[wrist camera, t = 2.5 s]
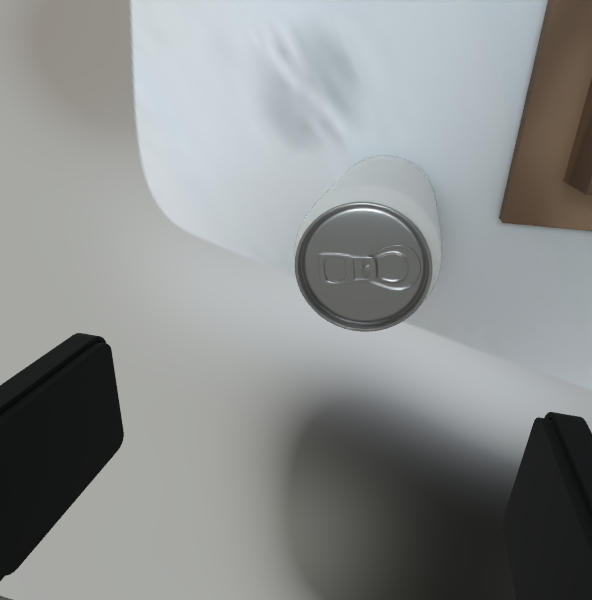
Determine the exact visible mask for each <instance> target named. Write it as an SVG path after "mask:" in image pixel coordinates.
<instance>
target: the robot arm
mask: <svg viewBox="0 0 592 600" xmlns="http://www.w3.org/2000/svg"><path fill="white" fill-rule="evenodd" d="M123 437H124V432H123V425H122V419H121V412H120V405H119V399H118V392H117V385H116V379H115V372H114V365H113V358H112V351H111V347H110V346H109V345H108V344H106V342H105V340H104V338H102V337H100V336H94V335H88V334H82V333H77V334H75V335H73V336H71V337H70V338H68V339H67V340H65V341H64V342H63V343H61V344H60V345H58V346H57V347H56V348H54V349H52V350H51V351H49V352H48V353H47V354H45V355H44V356H42V357H41V358H39V359H38V360H36V361H35V362H34V363H32V364H31V365H29V366H28V367H26V368H25V369H23V370H22V371H20V372H19V373H18V374H16V375H15V376H13V377H12V378H11V379H9V380H7V381H6V382H5V383H3V384H2V385H0V581H1V580H2V579H3V577H4V576H5V575H10V574H11V573H13V572H14V571H15V570H16V569H17V568H18V567H19V566H20V565H21V564H22V562H23V561H24V560H25V559H26V558H27V556H28V555H29V554H30V553H31V552H32V551H33V550H34V548H35V547H36V546H37V545H38V544H39V542H40V541H41V540H42V539H43V537H45V535H46V534H47V533H48V532H49V531H50V530H51V528H52V527H53V526H54V525H55V524H56V522H57V521H58V520H59V519H60V518H61V517H62V515H63V514H64V513H65V512H66V511H67V509H68V508H69V507H70V506H71V505H72V503H73V502H74V501H75V500H76V499H77V498H78V497H79V495H80V494H81V493H82V492H83V491H84V489H85V488H86V487H87V486H88V485H89V484H90V482H91V481H92V480H93V479H94V478H95V477H96V475H97V474H98V473H99V472H100V471H101V470H102V468H103V467H104V466H105V465H106V464H107V462H108V461H109V460H110V459H111V458H112V457H113V455H114V454H115V453H116V452H117V451H118V449H119V448H120V446H121V444H122V441H123ZM503 532H504V538H505V544H506V548H507V554H508V559H509V564H510V569H511V574H512V580H513V585H514V590H515V595H516V600H592V433H591V431H590V429H589V427H588V425H587V423H586V422H585V420H584V419H583V418H581V417H577V416H571V415H565V414H560V413H554V412H549V413H548V414H547V415H546V416H545V418H536V419H535V421H534V423H533V426H532V430H531V433H530V436H529V439H528V442H527V445H526V448H525V451H524V455H523V458H522V461H521V464H520V467H519V471H518V474H517V477H516V480H515V483H514V486H513V489H512V492H511V496H510V499H509V502H508V505H507V508H506V511H505V515H504V521H503ZM0 600H12V599H8V598H5V597H2V596H0Z"/></svg>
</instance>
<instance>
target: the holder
mask: <svg viewBox="0 0 592 600" xmlns="http://www.w3.org/2000/svg"><path fill="white" fill-rule="evenodd" d="M499 218H500V220H501V221H502V223H512V224H522V225H533V226H544V227H554V228H565V229H575V230H586V231H592V0H548V5H547V9H546V13H545V18H544V22H543V27H542V31H541V35H540V40H539V44H538V49H537V53H536V58H535V62H534V66H533V71H532V75H531V80H530V84H529V88H528V93H527V97H526V102H525V106H524V111H523V115H522V119H521V124H520V128H519V133H518V137H517V141H516V146H515V150H514V155H513V159H512V164H511V168H510V172H509V177H508V181H507V186H506V190H505V194H504V199H503V203H502V208H501V212H500V217H499Z"/></svg>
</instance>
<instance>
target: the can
mask: <svg viewBox="0 0 592 600" xmlns="http://www.w3.org/2000/svg"><path fill="white" fill-rule="evenodd" d="M441 259H442V247H441V237H440V228H439V221H438V213H437V207H436V201H435V196H434V192H433V189H432V186H431V184H430V182H429V180H428V178H427V177H426V175H425V174H424V173H423V172H422V171H421V170H420V169H419V168H418V167H417V166H415V165H414V164H412V163H411V162H409V161H407V160H405V159H402V158H399V157H394V156H376V157H372V158H368V159H366V160H363V161H361V162H359V163H357V164H356V165H354V166H353V167H352V168H350V169H349V170H348V171H347V172H346V173H345V174H344V175H343V176H342V177H341V178H340V179H339V180H338V181H337V182H336V183H335V184H334V185H333V186H332V187H331V188H330V189H329V190H328V191H327V192H326V193H325V194H324V195H323V196H322V197H321V198H320V199H319V201H318V202H317V203H316V204H315V205H314V206H313V207H312V209H311V210H310V211H309V212H308V214H307V215H306V217H305V219H304V220H303V222H302V224H301V227H300V229H299V232H298V235H297V239H296V244H295V273H296V279H297V283H298V286H299V288H300V291H301V293H302V295H303V296H304V298H305V300H306V301H307V302H308V304H309V305H310V306H311V307H312V308H313V309H314V311H316V312H317V313H318V314H319V315H320V316H321V317H323V318H324V319H326V320H327V321H329V322H331V323H333V324H335V325H337V326H339V327H342V328H345V329H349V330H354V331H377V330H382V329H386V328H389V327H392V326H394V325H397V324H399V323H400V322H402V321H404V320H405V319H407V318H408V317H409V316H410V315H412V314H413V313H414V312H415V311H416V310H417V309H418V307H419V306H420V305H421V303H422V302H423V301H424V300H425V299H426V297H427V296H428V295H429V293H430V292H431V290H432V289H433V287H434V285H435V283H436V280H437V278H438V275H439V271H440V266H441Z"/></svg>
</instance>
